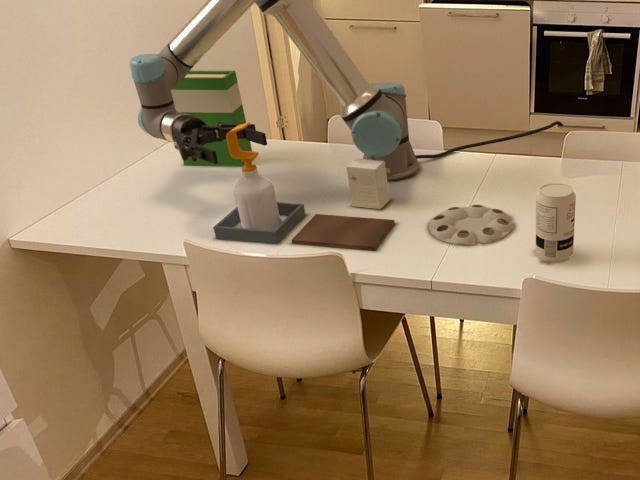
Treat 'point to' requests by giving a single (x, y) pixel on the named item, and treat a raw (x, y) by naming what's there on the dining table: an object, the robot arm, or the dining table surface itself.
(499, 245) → the dining table surface
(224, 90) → the hardback book
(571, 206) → the supplement can
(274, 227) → the soap bottle
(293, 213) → the square frame
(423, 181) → the dining table surface
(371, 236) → the walnut board
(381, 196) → the small box
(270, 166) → the dining table surface
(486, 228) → the paint palette
